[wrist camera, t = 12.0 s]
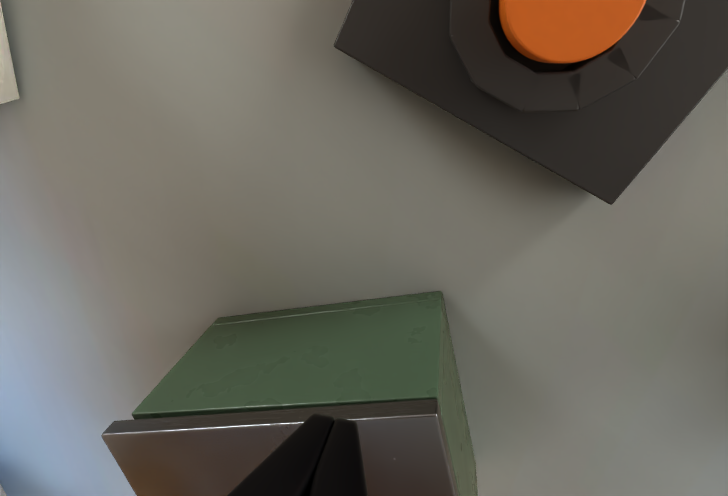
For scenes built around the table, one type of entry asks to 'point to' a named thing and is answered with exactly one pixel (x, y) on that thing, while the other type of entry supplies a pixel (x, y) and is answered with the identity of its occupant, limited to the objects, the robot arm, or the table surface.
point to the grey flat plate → (266, 432)
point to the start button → (566, 27)
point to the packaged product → (6, 67)
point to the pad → (550, 80)
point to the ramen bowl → (2, 491)
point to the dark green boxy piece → (325, 366)
